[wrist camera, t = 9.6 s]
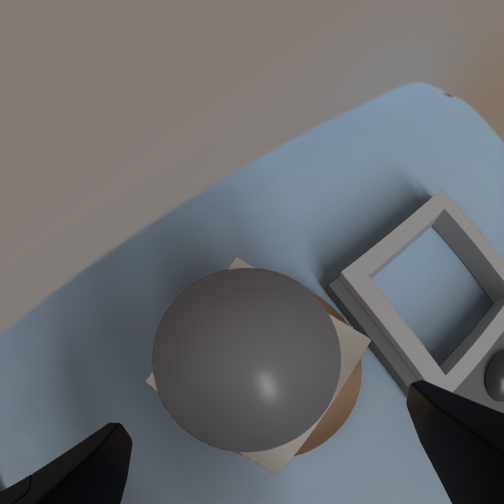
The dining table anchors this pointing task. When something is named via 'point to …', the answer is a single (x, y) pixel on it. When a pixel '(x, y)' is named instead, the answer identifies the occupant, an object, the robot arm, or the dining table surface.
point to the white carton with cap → (252, 362)
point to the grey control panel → (399, 333)
